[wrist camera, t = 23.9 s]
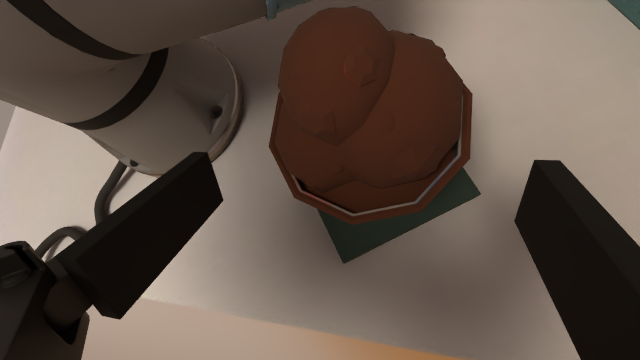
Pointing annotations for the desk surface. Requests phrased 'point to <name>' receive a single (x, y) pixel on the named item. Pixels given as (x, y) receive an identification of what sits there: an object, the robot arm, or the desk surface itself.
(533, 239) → the robot arm
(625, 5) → the divided tray
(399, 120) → the ice cream bowl
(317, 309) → the desk surface
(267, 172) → the desk surface
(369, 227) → the mat
